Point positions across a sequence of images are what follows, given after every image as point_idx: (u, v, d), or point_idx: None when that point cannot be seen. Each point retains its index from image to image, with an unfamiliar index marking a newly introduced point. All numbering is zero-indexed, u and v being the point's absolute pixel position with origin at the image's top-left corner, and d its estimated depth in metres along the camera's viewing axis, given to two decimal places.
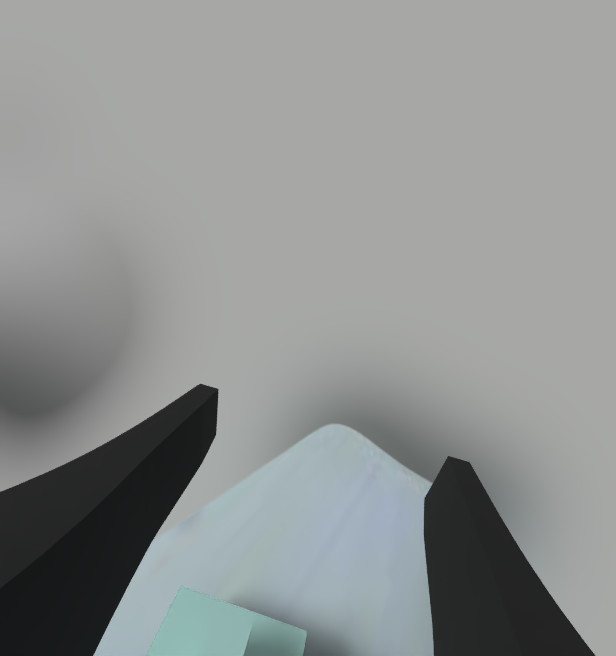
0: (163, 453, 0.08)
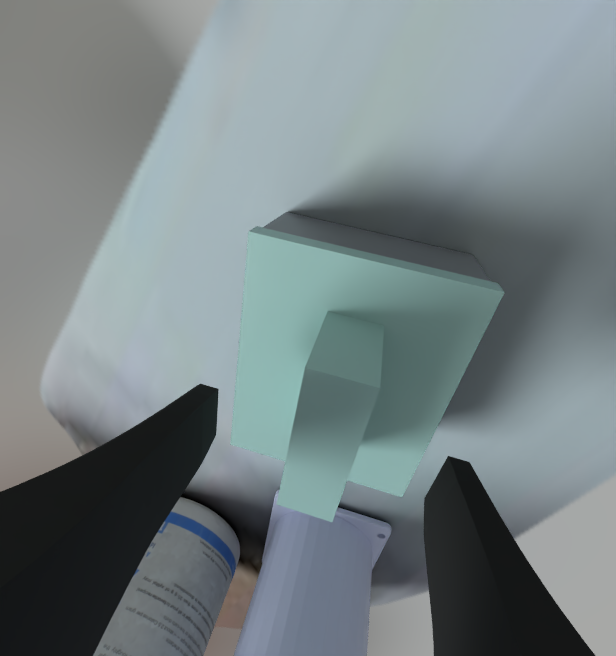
0: (163, 453, 0.08)
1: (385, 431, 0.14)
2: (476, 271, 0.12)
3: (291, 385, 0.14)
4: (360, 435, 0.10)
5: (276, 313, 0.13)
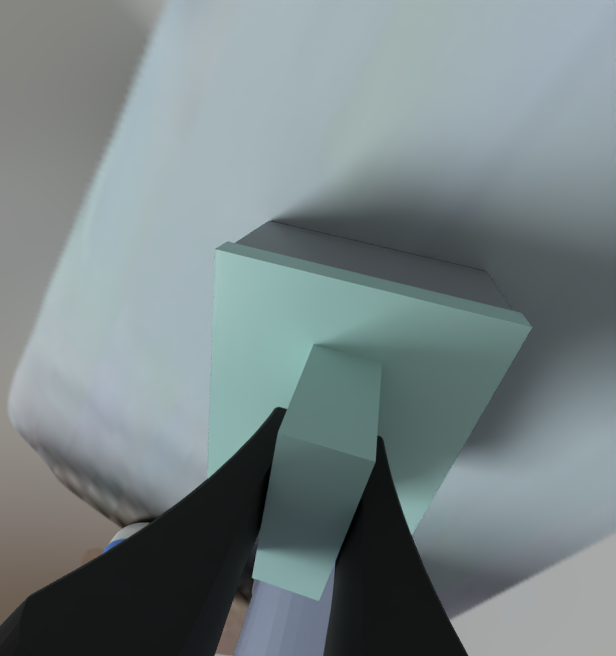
0: (263, 485, 0.08)
1: None
2: (493, 295, 0.10)
3: None
4: (351, 513, 0.08)
5: (252, 345, 0.11)
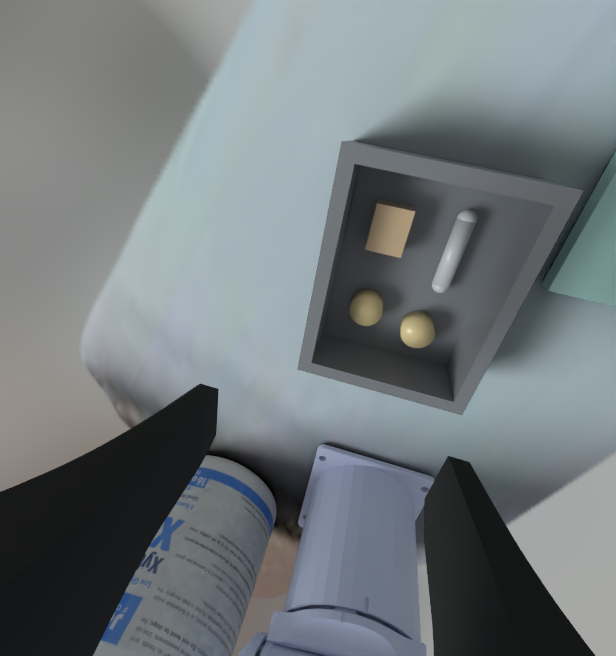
0: (163, 452, 0.08)
1: None
2: (559, 184, 0.12)
3: None
4: None
5: None
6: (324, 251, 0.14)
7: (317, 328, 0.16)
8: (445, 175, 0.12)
